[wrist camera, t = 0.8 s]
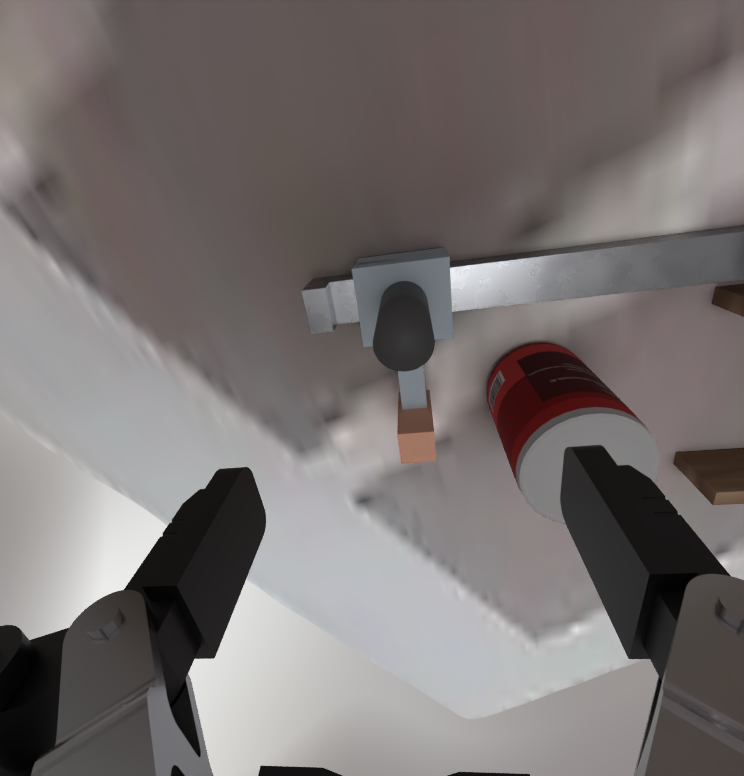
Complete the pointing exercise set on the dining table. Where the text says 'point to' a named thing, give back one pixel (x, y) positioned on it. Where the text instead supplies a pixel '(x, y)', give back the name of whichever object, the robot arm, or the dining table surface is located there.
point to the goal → (727, 466)
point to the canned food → (560, 421)
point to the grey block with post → (406, 332)
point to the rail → (560, 274)
